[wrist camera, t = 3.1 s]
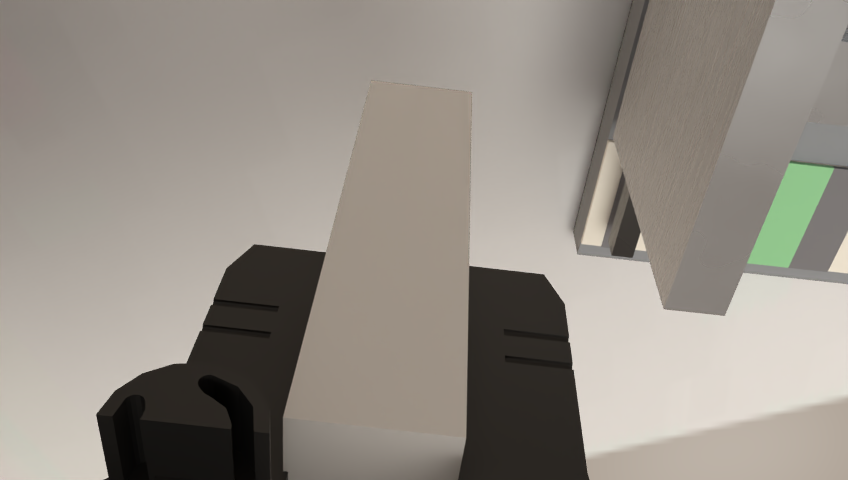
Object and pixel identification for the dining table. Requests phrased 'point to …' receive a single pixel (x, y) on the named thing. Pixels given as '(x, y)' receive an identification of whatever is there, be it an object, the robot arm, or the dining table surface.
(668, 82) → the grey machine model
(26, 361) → the dining table surface
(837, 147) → the gauge base
